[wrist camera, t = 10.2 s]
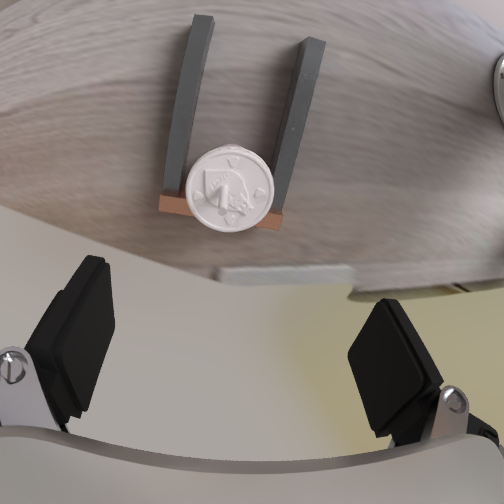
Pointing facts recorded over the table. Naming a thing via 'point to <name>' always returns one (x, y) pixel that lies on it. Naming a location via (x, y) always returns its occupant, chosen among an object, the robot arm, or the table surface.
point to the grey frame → (287, 136)
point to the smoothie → (229, 189)
